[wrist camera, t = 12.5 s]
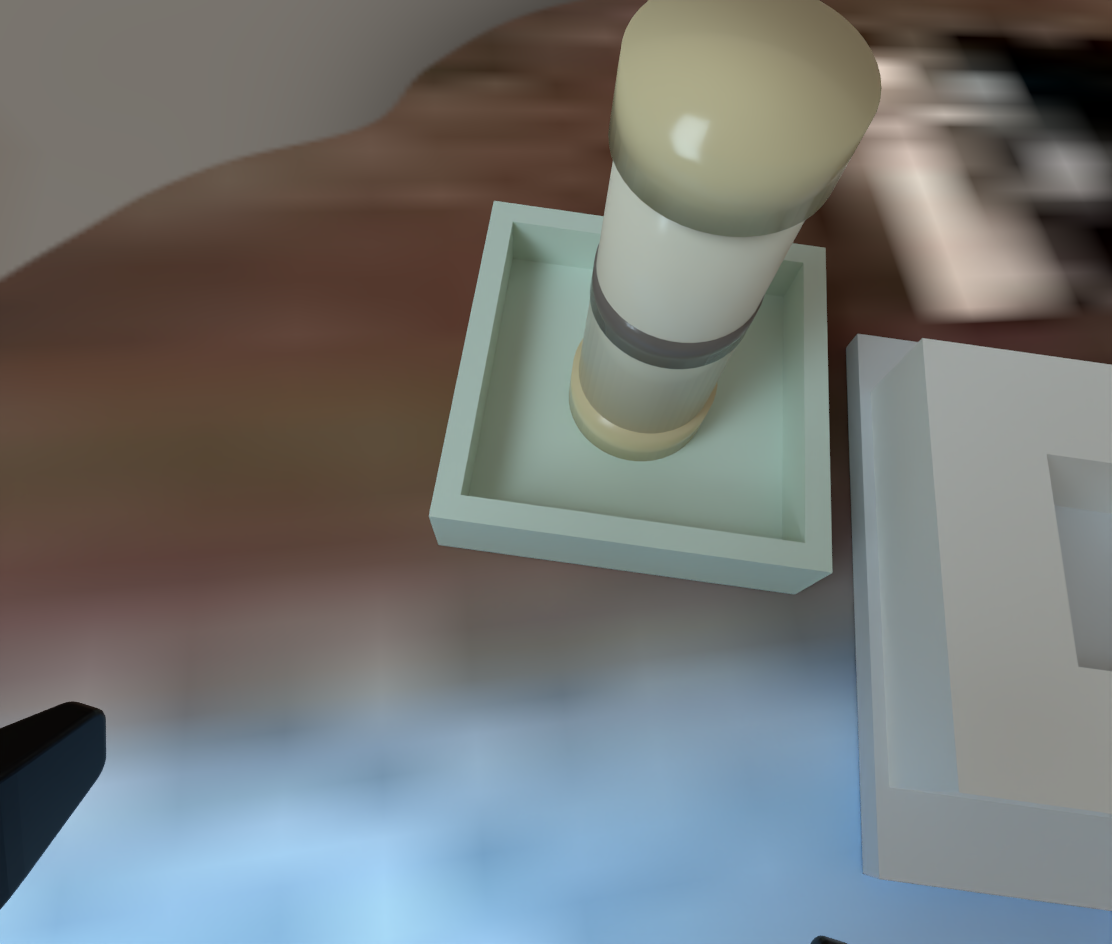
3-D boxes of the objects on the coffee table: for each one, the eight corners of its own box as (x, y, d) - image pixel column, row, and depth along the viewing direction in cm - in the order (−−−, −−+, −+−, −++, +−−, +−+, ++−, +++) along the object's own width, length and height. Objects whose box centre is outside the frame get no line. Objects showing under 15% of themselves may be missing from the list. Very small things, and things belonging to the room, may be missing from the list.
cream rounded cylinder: (726, 437, 25) (930, 131, 13) (597, 478, 24) (684, 192, 12) (671, 325, 26) (807, -41, 14) (549, 360, 25) (583, 1, 13)
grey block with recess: (1336, 938, 21) (1543, 984, 17) (862, 873, 21) (951, 902, 17) (1202, 398, 28) (1325, 333, 23) (845, 348, 28) (905, 274, 23)
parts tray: (795, 594, 24) (832, 572, 21) (438, 544, 24) (428, 516, 21) (794, 298, 28) (825, 248, 25) (495, 255, 28) (493, 200, 25)
